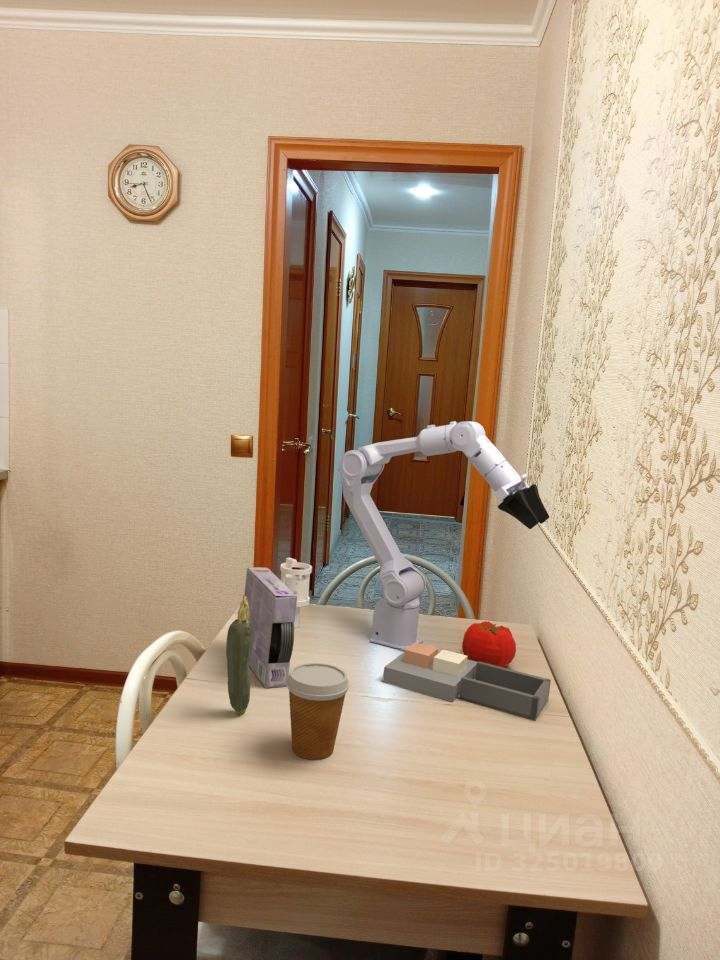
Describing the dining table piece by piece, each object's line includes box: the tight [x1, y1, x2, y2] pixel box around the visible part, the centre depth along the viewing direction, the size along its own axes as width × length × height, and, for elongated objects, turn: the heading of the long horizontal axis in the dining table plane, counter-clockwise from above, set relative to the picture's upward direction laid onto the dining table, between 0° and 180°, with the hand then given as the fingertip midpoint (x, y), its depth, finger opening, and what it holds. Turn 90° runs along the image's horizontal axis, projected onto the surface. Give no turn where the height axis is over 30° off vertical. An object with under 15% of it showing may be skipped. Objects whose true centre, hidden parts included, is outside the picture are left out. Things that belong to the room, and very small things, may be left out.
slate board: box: [382, 651, 477, 703], centre depth 138 cm, size 14×14×3 cm
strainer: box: [279, 557, 313, 629], centre depth 160 cm, size 7×7×15 cm
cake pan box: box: [243, 566, 297, 689], centre depth 135 cm, size 19×5×18 cm, turn 25°
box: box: [458, 661, 552, 722], centre depth 131 cm, size 14×10×4 cm
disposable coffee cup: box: [286, 662, 351, 761], centre depth 107 cm, size 10×10×12 cm
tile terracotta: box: [403, 642, 439, 669], centre depth 138 cm, size 5×5×2 cm
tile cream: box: [433, 649, 468, 677], centre depth 136 cm, size 5×5×2 cm
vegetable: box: [225, 594, 254, 714], centre depth 116 cm, size 4×4×20 cm
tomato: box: [461, 621, 517, 668], centre depth 147 cm, size 11×11×9 cm
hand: (540, 523), depth 139 cm, fingers open, 7 cm apart
